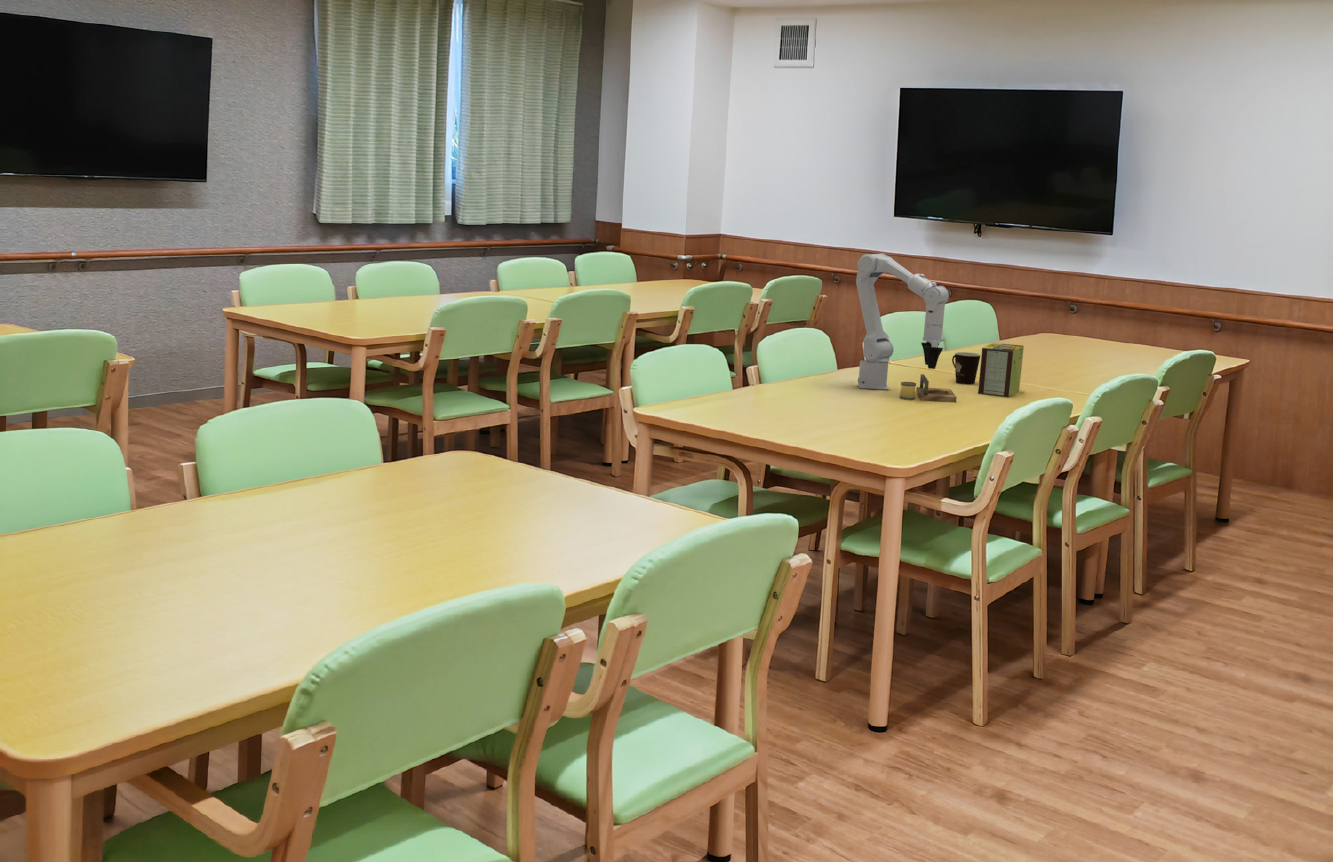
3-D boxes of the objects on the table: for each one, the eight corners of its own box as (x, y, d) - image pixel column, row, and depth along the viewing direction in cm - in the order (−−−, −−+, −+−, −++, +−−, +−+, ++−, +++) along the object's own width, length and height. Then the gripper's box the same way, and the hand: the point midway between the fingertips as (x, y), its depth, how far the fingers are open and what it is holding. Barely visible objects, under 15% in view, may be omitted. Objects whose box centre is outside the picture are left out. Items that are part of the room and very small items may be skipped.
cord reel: (900, 399, 381) (901, 383, 380) (899, 396, 386) (900, 381, 385) (915, 400, 381) (917, 384, 380) (914, 397, 385) (915, 382, 384)
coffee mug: (980, 385, 413) (983, 356, 411) (955, 384, 413) (957, 355, 411) (972, 379, 425) (975, 351, 423) (948, 378, 425) (950, 350, 423)
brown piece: (920, 400, 381) (922, 381, 380) (916, 391, 396) (917, 373, 394) (956, 402, 380) (957, 383, 379) (950, 393, 395) (951, 375, 393)
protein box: (1019, 391, 406) (1024, 345, 403) (1009, 397, 393) (1013, 350, 389) (988, 387, 411) (992, 342, 407) (977, 393, 397) (981, 347, 394)
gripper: (949, 328, 376) (945, 371, 378) (943, 322, 390) (939, 363, 393) (926, 326, 376) (923, 369, 379) (921, 321, 390) (917, 362, 393)
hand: (930, 366), depth 386 cm, fingers open, 7 cm apart
